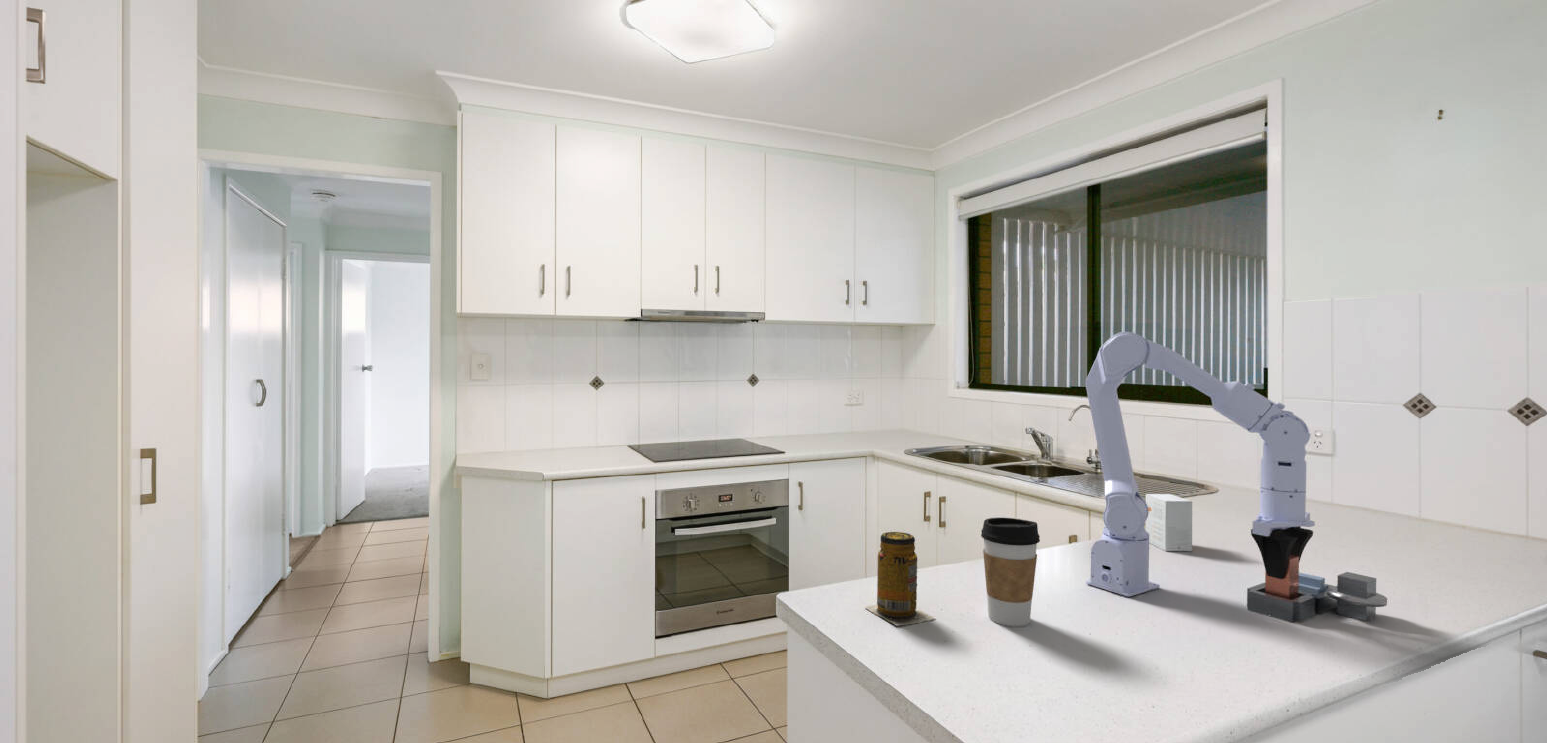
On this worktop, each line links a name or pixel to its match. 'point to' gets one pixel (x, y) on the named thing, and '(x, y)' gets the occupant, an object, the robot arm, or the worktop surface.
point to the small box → (1169, 522)
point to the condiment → (897, 580)
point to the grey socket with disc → (1322, 600)
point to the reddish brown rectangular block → (1285, 581)
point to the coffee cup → (1010, 568)
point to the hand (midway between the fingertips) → (1281, 575)
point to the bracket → (1311, 584)
